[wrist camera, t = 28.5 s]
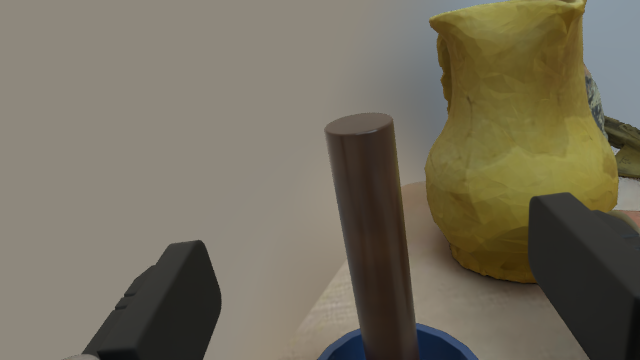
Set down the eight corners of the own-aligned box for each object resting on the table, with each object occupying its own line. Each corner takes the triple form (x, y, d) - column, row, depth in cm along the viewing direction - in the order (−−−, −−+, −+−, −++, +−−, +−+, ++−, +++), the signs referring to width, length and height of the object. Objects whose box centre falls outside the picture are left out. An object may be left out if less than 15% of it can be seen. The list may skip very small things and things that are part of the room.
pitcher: (421, 293, 40) (406, 13, 31) (433, 207, 56) (426, 8, 47) (636, 311, 34) (694, -26, 25) (580, 210, 50) (603, -16, 41)
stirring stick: (395, 483, 25) (337, 139, 16) (375, 439, 28) (315, 123, 19) (439, 462, 26) (405, 121, 17) (415, 421, 28) (375, 108, 20)
